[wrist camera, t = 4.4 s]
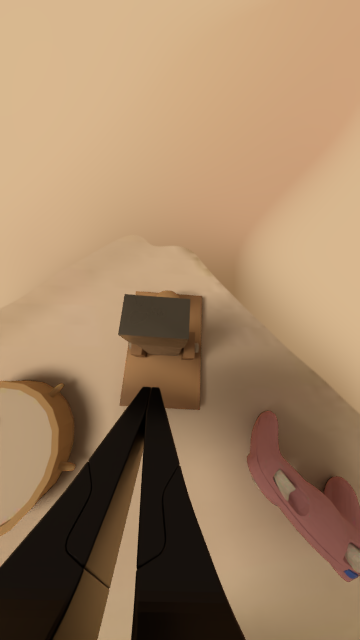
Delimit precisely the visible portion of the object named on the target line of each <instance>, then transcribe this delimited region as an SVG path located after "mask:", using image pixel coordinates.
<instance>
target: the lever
mask: <svg viewBox="0 0 360 640" xmlns="http://www.w3.org/2000/svg"><path fill="white" fill-rule="evenodd" d="M189 323H190V299H184V298H170V297H156V296H142V295H128V294H125V296H124V302H123V309H122V315H121V321H120V327H119V333H118V335H119V336H121V337H122V338H124V339H125V340H127V341H128V342H130V343H131V344H133V345H138V346H139V347H140V348H142V349H143V350H144V351H146V352H147V353H148V354H152V355H168V356H178V355H179V353H180V351H181V349H182V348H184V347H185V345H186V343H187V342H188V340H189Z"/></svg>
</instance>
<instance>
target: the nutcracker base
mask: <svg viewBox="0 0 360 640" xmlns="http://www.w3.org/2000/svg"><path fill="white" fill-rule="evenodd" d="M136 295H142V296H156V297H170V298H184V299H190V323H189V340H188V342H187V343H186V345H185V347H184V348H182V349H181V351H180V353H179V355H178V356H168V355H152V354H148V353H147V352H146V351H144V350H143V349H142V348H140V347H139V346H138V345H133V344H131V343H130V342H129V344H128V351H127V358H126V364H125V371H124V378H123V385H122V392H121V399H120V406H129V404H130V403H131V402H132V400H133V399H134V398H135V396H136V395H137V393H138V392H139V391H140V389H141V388H142V387H144V386H145V387H151V388H152V387H159V388H160V390H161V394H162V398H163V402H164V406H165V408H176V409H196V410H200V367H201V317H202V296H193V295H179V294H176V293H174V292H172V291H163V292H160V293H151V292H137V291H136Z"/></svg>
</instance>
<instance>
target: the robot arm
mask: <svg viewBox="0 0 360 640" xmlns="http://www.w3.org/2000/svg"><path fill="white" fill-rule="evenodd" d="M142 453H143V466H142V483H141V500H140V516H139V533H138V550H137V571H136V583H135V598H134V612H133V624H132V636H131V640H246V639H245V637H244V635H243V633H242V631H241V629H240V626H239V624H238V622H237V620H236V618H235V616H234V613H233V611H232V609H231V607H230V604H229V602H228V600H227V597H226V595H225V593H224V590H223V588H222V585H221V583H220V580H219V577H218V575H217V572H216V570H215V567H214V564H213V562H212V559H211V556H210V553H209V551H208V548H207V545H206V543H205V540H204V537H203V535H202V532H201V529H200V527H199V524H198V521H197V518H196V516H195V513H194V510H193V507H192V504H191V501H190V498H189V495H188V492H187V488H186V485H185V482H184V478H183V474H182V470H181V467H180V466H179V464H180V463H179V459H178V456H177V452H176V448H175V444H174V440H173V436H172V433H171V429H170V425H169V421H168V417H167V413H166V410H165V406H164V402H163V398H162V394H161V390H160V388H159V387H152V388H151V387H145V386H144V387H142V388H141V389H140V391H139V392H138V393H137V395H136V396H135V398H134V399H133V400H132V402H131V403H130V404H129V406H128V407H127V408H126V410H125V411H124V412H123V414H122V415H121V417H120V418H119V419H118V421H117V422H116V423H115V425H114V426H113V427H112V429H111V430H110V431H109V433H108V434H107V436H106V437H105V438H104V440H103V441H102V442H101V444H100V445H99V446H98V448H97V449H96V451H95V452H94V453H93V455H92V456H91V457H90V459H89V462H87V463H86V464H85V465H84V467H83V468H82V469H81V471H80V472H79V473H78V475H77V476H76V477H75V479H74V480H73V481H72V483H71V484H70V485H69V486H68V488H67V489H66V490H65V492H64V493H63V494H62V495H61V496H60V498H59V499H58V500H57V501H56V502H55V504H54V505H53V506H52V507H51V508H50V510H49V511H48V512H47V513H46V514H45V516H44V517H43V518H42V519H41V520H40V521H39V523H38V524H37V525H36V526H35V527H34V528H33V529H32V531H31V532H30V533H29V534H28V535H27V536H26V538H25V539H24V540H23V541H22V542H21V543H20V545H19V546H18V547H17V548H16V549H15V550H14V552H13V553H12V554H11V555H10V556H9V557H8V559H7V560H6V561H5V562H4V563H3V564H2V566H1V567H0V640H97V639H98V635H99V631H100V626H101V622H102V618H103V614H104V610H105V606H106V602H107V598H108V593H109V588H110V585H111V581H112V577H113V573H114V568H115V564H116V560H117V556H118V552H119V548H120V544H121V540H122V535H123V531H124V527H125V523H126V519H127V515H128V511H129V506H130V502H131V498H132V494H133V490H134V486H135V482H136V478H137V473H138V469H139V465H140V461H141V457H142Z"/></svg>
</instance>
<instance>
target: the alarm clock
mask: <svg viewBox="0 0 360 640" xmlns="http://www.w3.org/2000/svg"><path fill="white" fill-rule="evenodd" d="M63 387H64V384H62V383H60V384H59V385H57V386H56V387H55V388H53V387H52V386H50V385H48V384H46V383H44V382H37V381H30V380H23V381H0V536H2V535H3V534H5V533H6V532H8V531H10V530H11V529H12V528H13V527H14V526H15V525H16V524H17V523H18V521H19V520H20V519H21V518H22V517H23V516H24V515H25V514H26V513H27V512H28V511H29V510H30V509H31V508H32V507H33V506H34V505H35V504H36V503H37V501H38V500H39V499H40V498H41V497H42V496H43V495H44V494H45V493H46V492H47V491H48V490H49V489H50V488H51V487H52V486H53V485H54V484H55V483H56V481H57V480H58V478H59V476H60V474H61V473H62V471H73V470H74V468H75V466H76V465H75V464H73V463H71V462H68V460H69V456H70V453H71V449H72V446H73V442H74V418H73V415H72V412H71V409H70V406H69V403H68V402H67V400H66V399H65V398H64V397H63V395H62V394H61V393H60V390H61V389H62V388H63Z"/></svg>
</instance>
